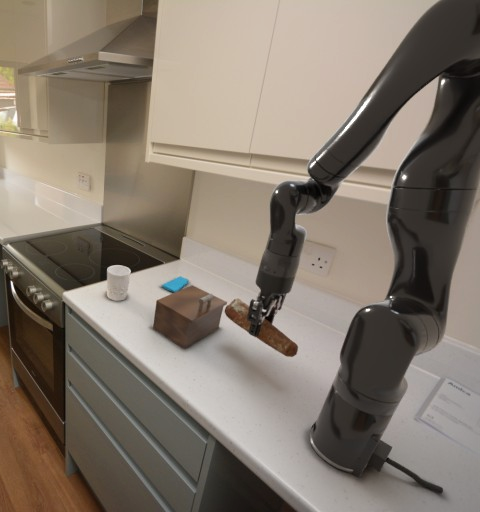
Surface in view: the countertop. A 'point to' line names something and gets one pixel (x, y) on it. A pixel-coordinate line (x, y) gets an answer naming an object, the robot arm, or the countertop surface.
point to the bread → (267, 333)
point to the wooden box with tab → (191, 303)
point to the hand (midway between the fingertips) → (259, 330)
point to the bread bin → (184, 326)
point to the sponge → (175, 284)
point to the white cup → (117, 282)
